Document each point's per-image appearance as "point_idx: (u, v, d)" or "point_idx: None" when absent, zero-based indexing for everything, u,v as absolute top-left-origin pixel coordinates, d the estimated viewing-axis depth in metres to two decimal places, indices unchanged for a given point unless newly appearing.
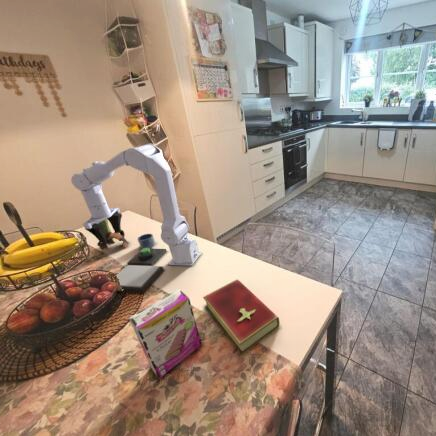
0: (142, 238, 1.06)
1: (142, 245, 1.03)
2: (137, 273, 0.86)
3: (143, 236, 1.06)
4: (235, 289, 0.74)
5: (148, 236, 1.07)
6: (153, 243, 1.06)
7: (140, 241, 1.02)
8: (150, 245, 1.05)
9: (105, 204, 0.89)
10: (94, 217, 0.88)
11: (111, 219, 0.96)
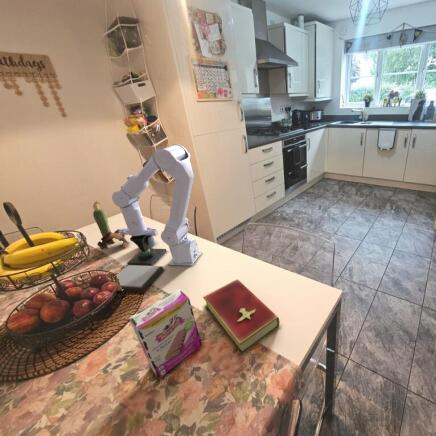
0: None
1: None
2: (137, 273, 0.86)
3: None
4: (235, 289, 0.74)
5: None
6: (153, 243, 1.06)
7: None
8: (150, 245, 1.05)
9: (130, 224, 0.88)
10: None
11: None
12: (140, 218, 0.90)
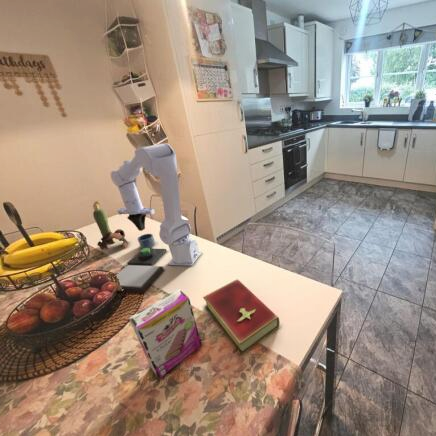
0: (142, 238, 1.06)
1: (142, 245, 1.03)
2: (137, 273, 0.86)
3: (143, 236, 1.06)
4: (235, 289, 0.74)
5: (148, 236, 1.07)
6: (153, 243, 1.06)
7: (140, 241, 1.02)
8: (150, 245, 1.05)
9: (128, 202, 0.94)
10: None
11: None
12: (134, 199, 0.95)
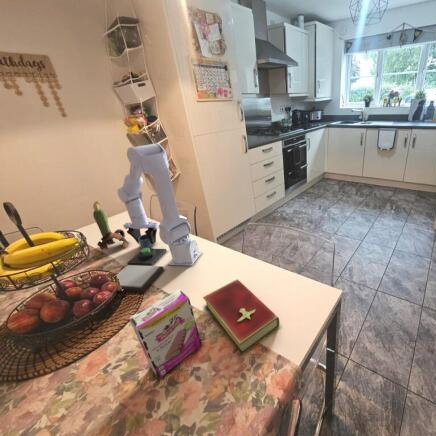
0: (142, 238, 1.06)
1: (142, 245, 1.03)
2: (137, 273, 0.86)
3: (143, 236, 1.06)
4: (235, 289, 0.74)
5: None
6: None
7: (140, 241, 1.02)
8: (150, 245, 1.05)
9: (134, 218, 0.98)
10: None
11: None
12: (140, 214, 0.98)
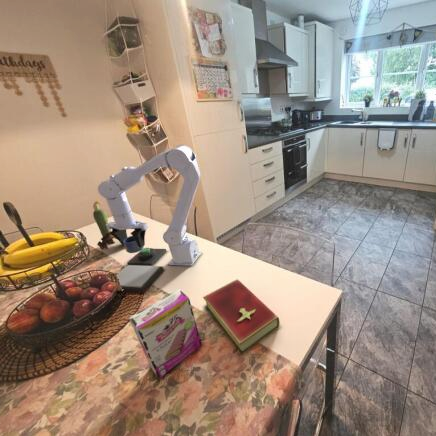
0: (129, 240, 0.91)
1: (128, 249, 0.88)
2: (137, 273, 0.86)
3: (130, 238, 0.91)
4: (235, 289, 0.74)
5: None
6: None
7: (125, 244, 0.87)
8: (137, 249, 0.89)
9: (117, 216, 0.82)
10: None
11: None
12: (129, 210, 0.85)
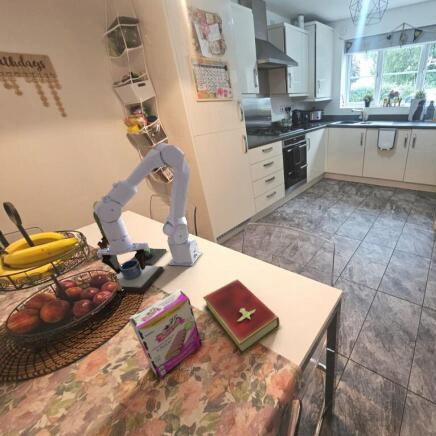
0: (124, 267, 0.84)
1: (128, 275, 0.82)
2: None
3: (124, 264, 0.84)
4: (235, 289, 0.74)
5: (131, 263, 0.85)
6: (141, 270, 0.85)
7: (125, 271, 0.81)
8: (138, 273, 0.84)
9: (116, 241, 0.76)
10: None
11: None
12: None
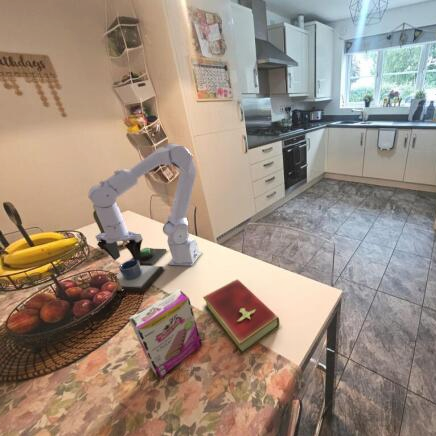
0: (124, 267, 0.84)
1: (128, 275, 0.82)
2: None
3: (124, 264, 0.84)
4: (235, 289, 0.74)
5: (131, 263, 0.85)
6: (141, 270, 0.85)
7: (125, 271, 0.81)
8: (138, 273, 0.84)
9: None
10: (124, 234, 0.77)
11: (110, 245, 0.80)
12: (122, 218, 0.78)
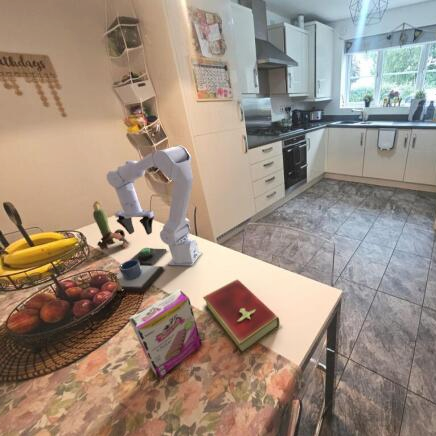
0: (124, 267, 0.84)
1: (128, 275, 0.82)
2: None
3: (124, 264, 0.84)
4: (235, 289, 0.74)
5: (131, 263, 0.85)
6: (141, 270, 0.85)
7: (125, 271, 0.81)
8: (138, 273, 0.84)
9: None
10: (139, 211, 0.92)
11: (126, 221, 0.94)
12: (134, 200, 0.89)
